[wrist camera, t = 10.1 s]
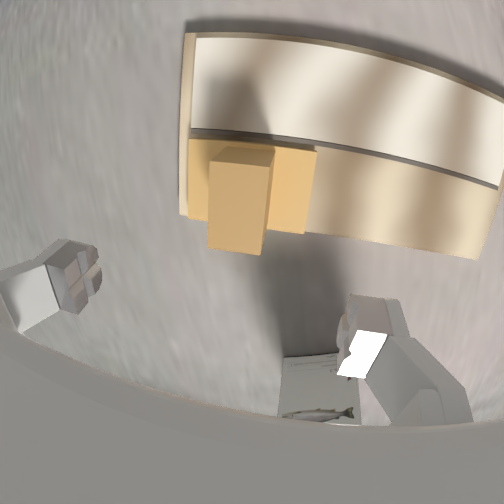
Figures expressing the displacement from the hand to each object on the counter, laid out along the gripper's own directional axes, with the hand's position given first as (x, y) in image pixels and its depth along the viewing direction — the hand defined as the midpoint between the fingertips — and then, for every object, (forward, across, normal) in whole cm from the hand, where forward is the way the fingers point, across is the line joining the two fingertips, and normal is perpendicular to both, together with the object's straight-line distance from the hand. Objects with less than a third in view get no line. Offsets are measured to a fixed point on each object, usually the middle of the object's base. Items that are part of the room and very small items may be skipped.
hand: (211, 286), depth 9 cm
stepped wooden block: (+12, +1, +1) cm, 12 cm away
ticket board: (+14, -6, -3) cm, 15 cm away
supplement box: (+14, -8, +20) cm, 26 cm away
